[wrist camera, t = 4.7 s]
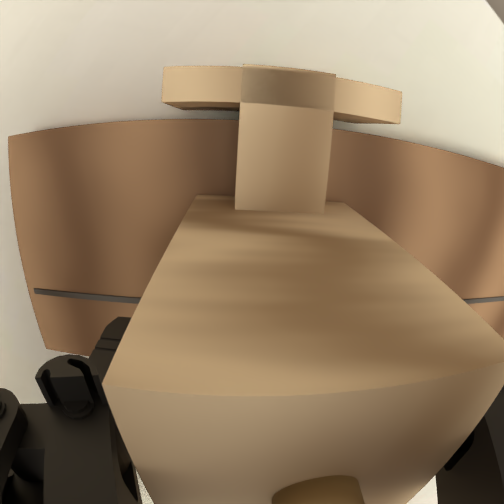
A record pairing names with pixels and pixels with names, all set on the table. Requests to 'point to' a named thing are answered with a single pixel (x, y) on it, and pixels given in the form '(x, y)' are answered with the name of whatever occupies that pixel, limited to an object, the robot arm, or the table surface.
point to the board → (223, 183)
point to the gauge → (294, 323)
